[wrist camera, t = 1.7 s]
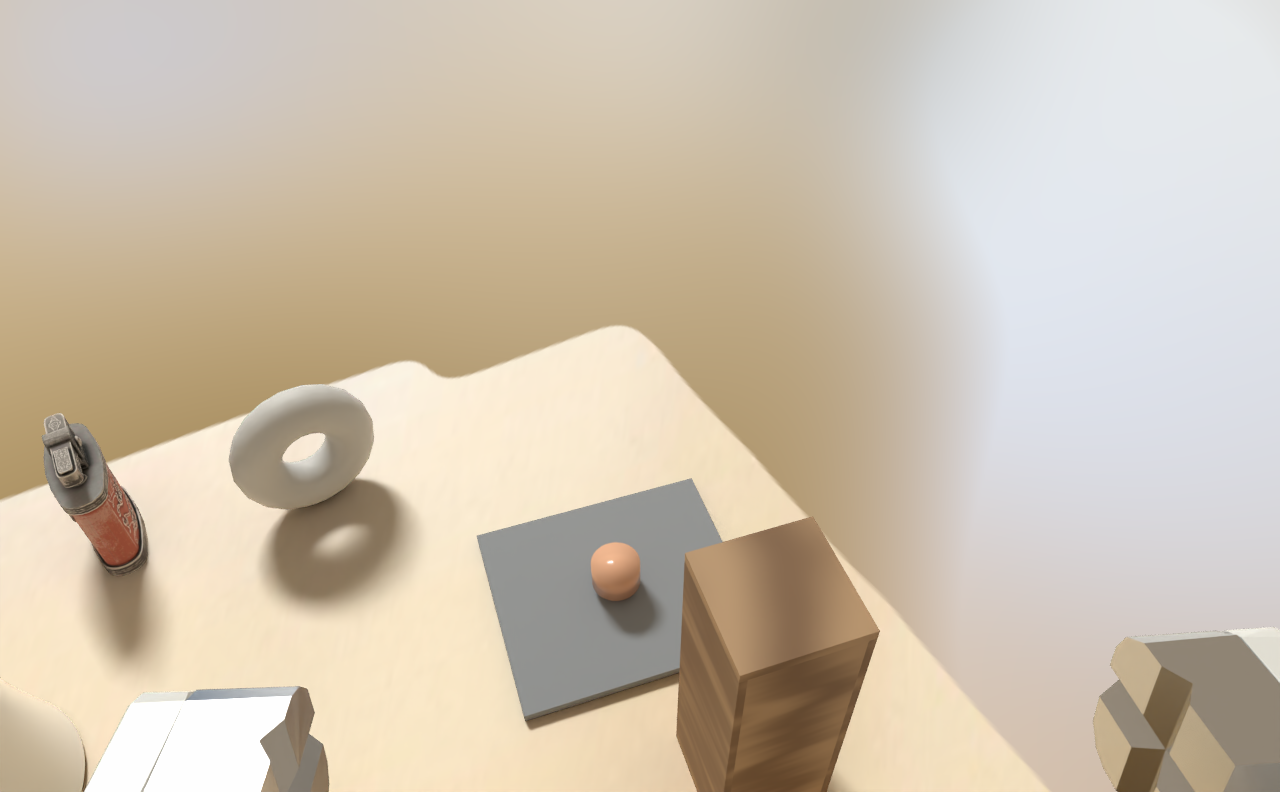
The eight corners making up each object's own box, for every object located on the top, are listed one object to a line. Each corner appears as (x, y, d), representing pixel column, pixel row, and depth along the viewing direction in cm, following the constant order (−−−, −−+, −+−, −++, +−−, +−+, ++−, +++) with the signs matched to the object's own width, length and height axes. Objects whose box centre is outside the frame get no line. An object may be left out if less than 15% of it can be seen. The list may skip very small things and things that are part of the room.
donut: (374, 448, 72) (344, 352, 65) (394, 475, 70) (365, 380, 63) (247, 510, 68) (200, 415, 61) (264, 541, 66) (218, 447, 59)
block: (716, 842, 51) (739, 675, 38) (676, 736, 56) (684, 553, 43) (822, 804, 53) (879, 631, 40) (775, 703, 57) (813, 516, 44)
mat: (525, 721, 56) (524, 716, 56) (478, 540, 66) (476, 535, 65) (768, 644, 60) (769, 639, 60) (691, 483, 69) (691, 478, 69)
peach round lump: (600, 611, 61) (599, 589, 59) (586, 572, 63) (584, 549, 61) (646, 598, 62) (647, 575, 60) (631, 559, 64) (631, 536, 62)
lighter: (83, 504, 68) (18, 409, 61) (132, 485, 70) (74, 390, 63) (104, 584, 64) (36, 490, 56) (156, 561, 65) (95, 467, 58)
